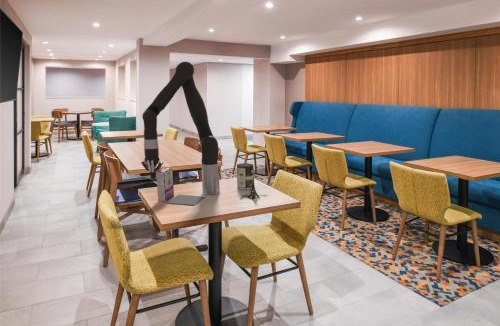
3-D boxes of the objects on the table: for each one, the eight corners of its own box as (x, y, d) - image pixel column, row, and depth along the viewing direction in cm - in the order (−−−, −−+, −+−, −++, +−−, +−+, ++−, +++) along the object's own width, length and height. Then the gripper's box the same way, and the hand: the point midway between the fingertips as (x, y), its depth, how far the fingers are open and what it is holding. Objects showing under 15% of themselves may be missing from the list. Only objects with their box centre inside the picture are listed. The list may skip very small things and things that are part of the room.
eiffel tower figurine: (267, 196, 211) (267, 173, 208) (266, 201, 201) (267, 177, 198) (241, 195, 212) (241, 172, 210) (239, 200, 202) (239, 176, 200)
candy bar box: (166, 195, 211) (164, 167, 208) (174, 196, 210) (172, 167, 207) (157, 201, 200) (155, 171, 197) (166, 201, 199) (164, 171, 196)
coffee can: (253, 185, 234) (253, 163, 231) (253, 189, 224) (253, 166, 221) (237, 185, 234) (236, 163, 231) (236, 189, 224) (236, 166, 221)
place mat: (206, 197, 207) (206, 196, 207) (194, 205, 192) (194, 204, 192) (178, 195, 212) (178, 194, 212) (164, 203, 197) (164, 202, 197)
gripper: (165, 146, 204) (167, 177, 207) (144, 146, 207) (146, 176, 211) (158, 148, 197) (160, 180, 200) (136, 148, 200) (138, 179, 204)
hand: (153, 178), depth 205 cm, fingers closed
